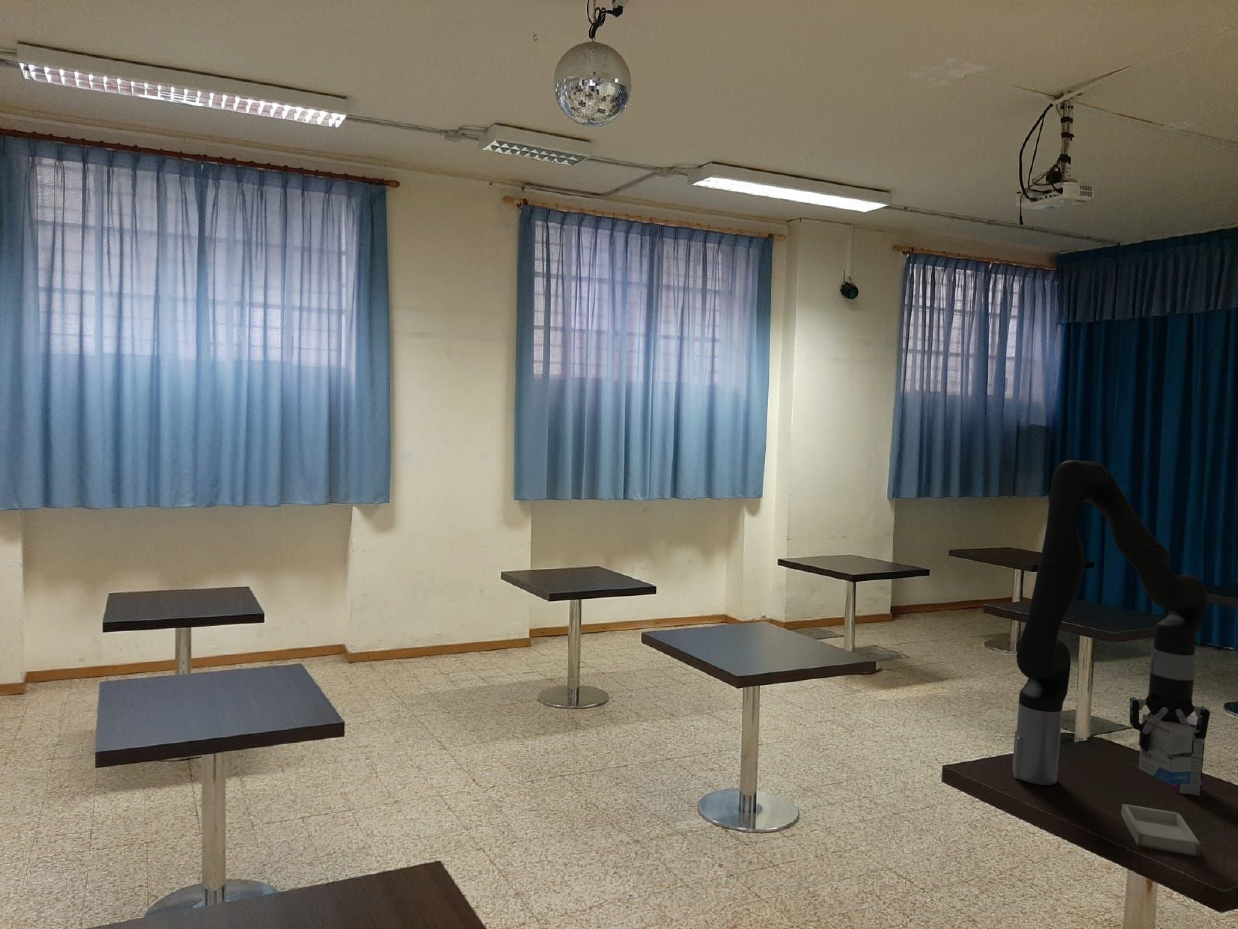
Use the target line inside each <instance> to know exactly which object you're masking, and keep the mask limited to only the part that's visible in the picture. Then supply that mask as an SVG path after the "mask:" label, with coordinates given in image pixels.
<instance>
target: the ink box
mask: <svg viewBox="0 0 1238 929" xmlns="http://www.w3.org/2000/svg"><path fill="white" fill-rule="evenodd" d="M1147 715H1148V713H1145V712H1144V713H1143V714H1142V718H1141V723H1142V722H1143V721H1144V720H1145V717H1146V716H1147ZM1149 717H1150V718H1152V717H1153V716H1152V715H1151V716H1149ZM1149 735H1150V736H1149V748H1148V752H1145V751H1143V750H1142V748H1141V747H1140V746H1139V747H1140V749H1139V761H1138V762H1139V764H1138V769H1139V770H1141V771H1143V772H1144V773H1146V774H1149V775H1151V776H1153V777H1155V778H1156V779H1158V780H1160V781H1163V782H1164V783H1166V784H1168V785H1170V786H1171V785H1176V784H1190V769H1191V752H1192V736H1193V727H1191V726H1188V725H1182V724H1181V723H1174V722H1168V721H1166V722H1165V721H1162V720H1160V721H1159V722H1158V723H1157V724H1156V726H1154V727H1153V728H1152V729H1151V730H1150V732H1149Z"/></svg>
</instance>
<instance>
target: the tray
mask: <svg viewBox="0 0 1238 929" xmlns="http://www.w3.org/2000/svg"><path fill="white" fill-rule="evenodd" d="M1120 813H1121V814H1120V815H1121V817H1122V819H1123V821H1124V823H1125V825H1126V827H1127V828H1128V830H1129V832H1130V835H1131V836H1132V838H1133V840H1134V841H1135V844H1136V845H1137V847H1143V848H1149V849H1155V850H1160V851H1164V852H1165V851H1166V852H1171V853H1177V854H1183V855H1189V856H1193V857H1200V855H1201V845H1202V844H1201V843H1200V841H1199V840H1198V838H1197V837H1196V835H1195V834H1194V833H1193V831H1192V830H1191V828H1190V827H1189V825H1188V824H1187V822H1186V821H1185V819H1184V818H1183V816H1182V814H1180V812H1174V811H1169V810H1162V809H1158V808H1157V809H1156V808H1150V807H1144V806H1138V805H1134V804H1133V805H1132V804H1126V803H1122V804H1121V812H1120Z"/></svg>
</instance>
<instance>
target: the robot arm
mask: <svg viewBox="0 0 1238 929" xmlns="http://www.w3.org/2000/svg"><path fill="white" fill-rule="evenodd" d="M1118 485H1119V484H1118V483H1117V482H1116V480H1115V479H1114V477H1113V475H1112V474H1111V473H1110V470H1108V469H1107V468H1106V466H1104V465H1103V464H1101V463H1098V462H1095V461H1087V460H1077V459H1076V460H1075V459H1070V460H1065V461H1063V462H1061V463H1060V464H1059V465H1058V466H1057V468H1056V469H1055V471H1054V473H1053V476H1052V479H1051V486H1050V495H1049V496H1050V497H1049V505H1048V517H1047V523H1046V528H1045V534H1044V538H1043V543H1042V549H1041V554H1040V556H1039V562H1038V565H1037V566H1038V567H1037V571H1036V575H1035V582H1034V587H1033V593H1032V595H1031V602H1030V606H1029V612H1028V615H1027V618H1026V622H1025V626H1024V628H1023V631H1022V633H1021V637H1020V640H1019V643H1018V646H1017V651H1016V664H1017V667H1018V669H1019V671H1020V672H1021V673H1022V675H1024V676H1025V677H1026V678H1027V681H1026V682H1025V685H1023V687H1022V688H1021V689H1020V692H1019V695H1018V696H1019V697H1018V708H1017V722H1016V730H1015V731H1014V739H1013V740H1014V741H1013V756H1012V774H1013V778H1015V779H1017V780H1021V781H1024V782H1027V783H1030V784H1034V785H1040V786H1051V785H1055V784H1057V781H1058V774H1059V772H1058V768H1059V757H1060V743H1061V732H1062V720H1063V719H1062V717H1063V707H1064V706H1063V705H1064V702H1065V700H1066V697H1067V695H1068V691H1069V690H1068V689H1069V682H1070V674H1071V664H1072V661H1071V660H1072V659H1071V654H1070V651H1069V648H1068V646H1067V645H1066V644H1065V642H1064V641H1062V640H1061V639H1060V638H1058V636H1059V631H1060V628H1061V624H1062V623H1063V620H1064V618H1065V616H1066V615H1067V613H1068V612H1069V610H1070V608H1071V607H1072V605H1073V602H1074V601H1075V599H1076V597H1077V595H1078V593H1079V591H1080V588H1081V584H1082V579H1083V575H1084V570H1085V564H1086V557H1085V552H1084V547H1083V545H1082V541H1081V537H1080V533H1079V518H1080V513H1081V510H1082V505H1083V503H1090V504H1091V505H1093V507H1094V508H1096V509H1097V510H1098V511H1099V512H1100V513H1101V514H1102V515H1103V517H1105V520H1106V521H1107V523H1108V525H1109V528H1110V532H1111V535H1112V539H1113V541H1114V544H1115V545H1116V547H1117V549H1118V550H1119V552H1120V553H1121V554H1122V555H1123V557H1124V558H1125V559H1126V561H1127V562H1129V564H1130V565H1131V566H1132V568H1133V569H1135V571H1136V573H1137V575H1138V577H1139V580H1140V581H1141V584H1142V586H1143V588H1144V590H1145V593H1146V594H1147V596H1148V597H1149V599H1150V600H1151V601H1152V602H1153V603H1154V605H1156V606H1158V607H1159V608H1160V609H1162V610H1165V611H1168V613H1167V616H1166V617H1165V618H1164V619H1162V620H1160V621H1159V622H1157V623H1156V625H1155V628H1154V637H1153V640H1154V642H1153V648H1152V650H1153V651H1152V655H1151V659H1150V664H1149V669H1150V671H1149V683H1148V694H1147V696H1146V698H1145V699H1142V698H1141V699H1140V698H1136V697H1134V696H1131V697H1130V698H1129V724H1130V726H1131V727H1132V728H1133V729H1134V730H1136V731H1139V735H1138V736H1139V737H1138V746H1139V747H1141V748H1142V750H1143V751H1145V752H1148V748H1149V736H1150V735H1149V732H1150V730H1151V729H1152V728H1153V727H1154V726H1156V724H1157V723H1158V722H1159V721H1160V720H1162V721H1165V722H1166V721H1168V722H1174V723H1181V724H1182V725H1188V726H1190V725H1189V723H1188V721H1187V720H1186V718H1187V717H1188V716H1189V715H1192V714H1193V713H1195V714H1194V715H1195V716H1196V717H1197V719H1196V720H1197V725H1196V730H1194V731H1193V736H1192V752H1191V755H1192V754H1193V747H1194V740H1195V739H1198V738H1201V739H1204V738H1205V739H1206V738H1207V733H1208V728H1209V727H1208V726H1209V722H1210V721H1209V720H1210V716H1211V712H1210V710H1209V709H1208V708H1207V707H1206V706H1204V705H1202V706H1195V705H1194V704H1193V695H1194V683H1195V673H1196V672H1195V671H1196V670H1195V668H1196V661H1195V652H1196V642H1197V641H1196V638H1197V632H1198V630H1199V628H1200V625H1201V623H1202V620H1203V617H1204V615H1205V611H1206V608H1207V605H1208V598H1209V597H1208V590H1207V588H1206V585H1205V583H1204V582H1203V581H1202V580H1201V579H1200V578H1199V577H1197V576H1195V575H1192V574H1174V573H1173V572H1172V571H1171V570H1170V569H1169V567H1170V565H1171V563H1172V557H1171V554H1170V553H1169V551H1167V549H1166V548H1165V546H1163V544H1162V543H1160V541H1159V540H1158V538H1156V537H1155V536H1154V535H1153V533H1152V532H1151V531H1150V530H1149V529H1148V528H1147V526H1146V525H1145V524H1144V523H1143V521H1142V520H1141V519H1140V517H1139V516H1138V515H1137V513H1136V512H1135V510H1134V509H1133V507H1132V506H1131V504H1130V502H1129V501H1128V500H1127V498H1126V496H1125V495H1124V493H1123V492H1122V491H1121V489H1120V487H1119V486H1118ZM1145 706H1146V707H1147V709H1148V710H1149V712H1148V713H1147V714H1148V715H1147V716H1146V717H1145V720H1144V721H1143V722H1142V721H1141V723H1140V711H1142V710H1143V709H1144V707H1145ZM1151 715H1152V716H1153V717H1152V718H1150V717H1149V716H1151Z"/></svg>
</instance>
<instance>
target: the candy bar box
mask: <svg viewBox="0 0 1238 929" xmlns="http://www.w3.org/2000/svg"><path fill="white" fill-rule="evenodd" d="M1186 720H1187V721H1188V723H1189V725H1190V726H1191V727H1193V731H1194V730H1196V725H1197V719H1196V718H1195V717H1194V716H1192V714H1190V715H1189V716H1188V717H1187V718H1186ZM1205 742H1206V738H1204V739H1201V738H1198V739H1195V740H1194V747H1193V754H1192V755H1191V769H1190V784H1176V785H1170V786H1171V788H1173V790H1174V791H1175V792H1177V793H1178V794H1179V795H1187V796H1196V797H1197V796H1199V797H1200V796H1201V792H1202V790H1201V789H1202V780H1203V768H1204V767H1203V766H1204V754H1205Z"/></svg>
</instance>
